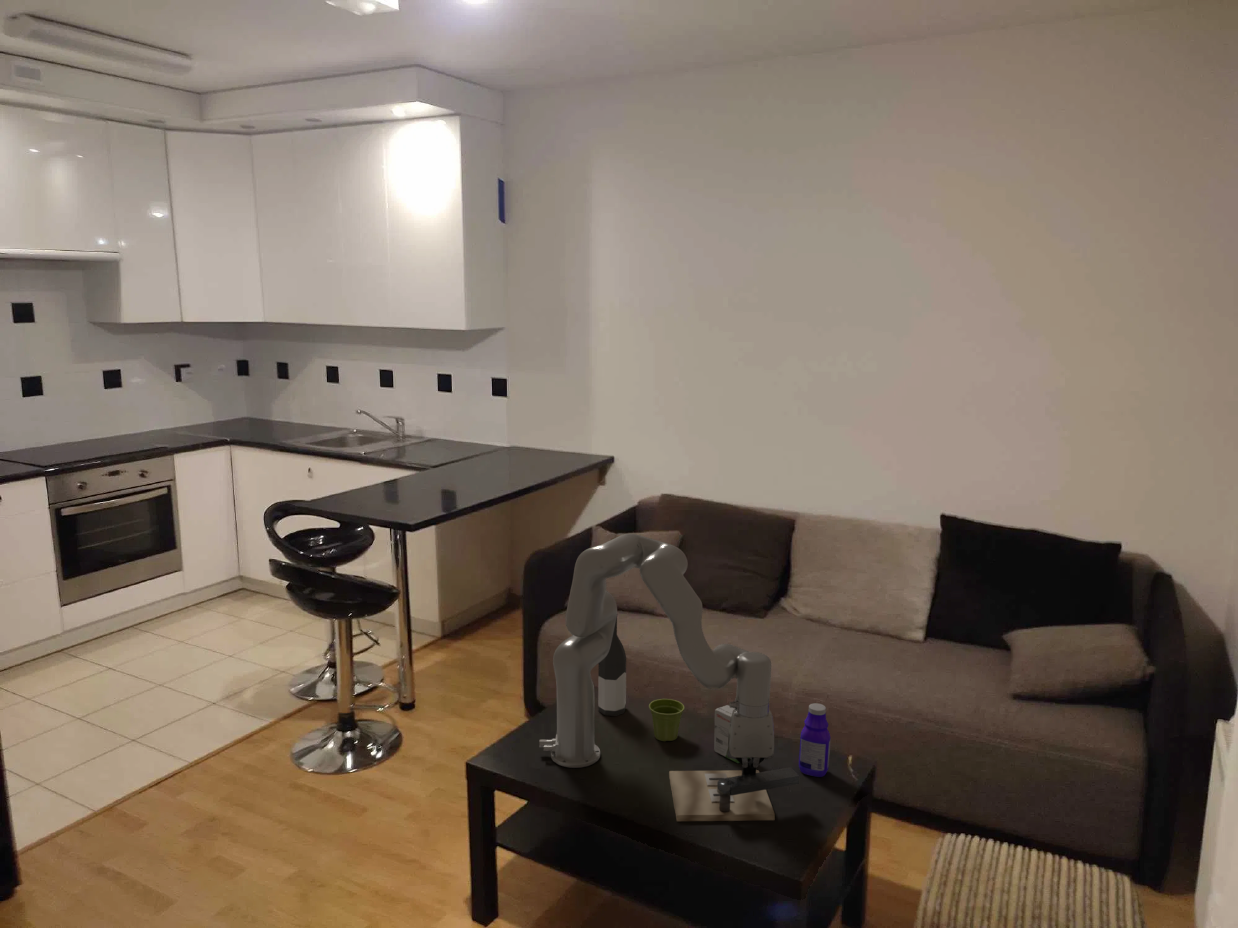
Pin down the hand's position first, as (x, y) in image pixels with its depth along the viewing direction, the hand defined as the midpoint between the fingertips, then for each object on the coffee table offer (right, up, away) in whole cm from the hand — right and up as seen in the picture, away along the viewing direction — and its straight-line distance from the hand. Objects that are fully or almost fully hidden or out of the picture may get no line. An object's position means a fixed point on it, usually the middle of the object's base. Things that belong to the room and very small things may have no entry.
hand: (748, 780), depth 206 cm
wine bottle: (-32, +3, +47) cm, 57 cm away
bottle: (+18, -3, +14) cm, 23 cm away
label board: (-6, -5, +2) cm, 8 cm away
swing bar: (+1, 0, -4) cm, 4 cm away
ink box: (-1, -2, +22) cm, 22 cm away
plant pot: (-17, 0, +32) cm, 36 cm away
